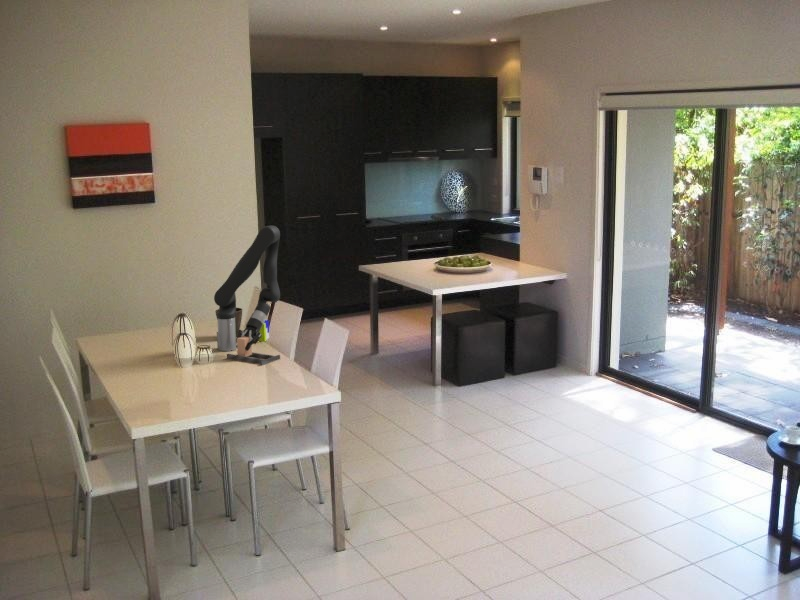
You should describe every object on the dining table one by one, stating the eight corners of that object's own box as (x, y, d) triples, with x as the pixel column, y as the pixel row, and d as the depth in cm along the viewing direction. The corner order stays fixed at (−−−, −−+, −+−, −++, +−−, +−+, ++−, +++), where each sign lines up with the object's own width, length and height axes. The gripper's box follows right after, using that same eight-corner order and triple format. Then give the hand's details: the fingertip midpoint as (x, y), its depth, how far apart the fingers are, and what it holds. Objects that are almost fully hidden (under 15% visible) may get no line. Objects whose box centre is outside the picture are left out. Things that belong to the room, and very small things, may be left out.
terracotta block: (237, 355, 423) (236, 338, 421) (244, 353, 427) (243, 336, 425) (245, 356, 420) (244, 339, 418) (251, 354, 424) (251, 337, 422)
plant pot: (213, 340, 468) (211, 312, 465) (222, 334, 482) (220, 307, 479) (238, 341, 466) (237, 312, 463) (247, 334, 480) (245, 307, 477)
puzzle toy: (269, 337, 473) (268, 320, 471) (264, 341, 463) (264, 324, 462) (252, 337, 474) (251, 320, 472) (247, 341, 464) (246, 324, 463)
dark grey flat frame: (223, 362, 422) (223, 355, 421) (242, 355, 434) (241, 349, 433) (262, 368, 409) (262, 361, 409) (280, 361, 421) (280, 355, 421)
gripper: (242, 315, 430) (227, 343, 422) (263, 318, 423) (249, 346, 415) (249, 323, 435) (234, 351, 427) (271, 326, 428) (256, 354, 420)
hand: (242, 349), depth 421 cm, fingers closed on terracotta block, 5 cm apart
